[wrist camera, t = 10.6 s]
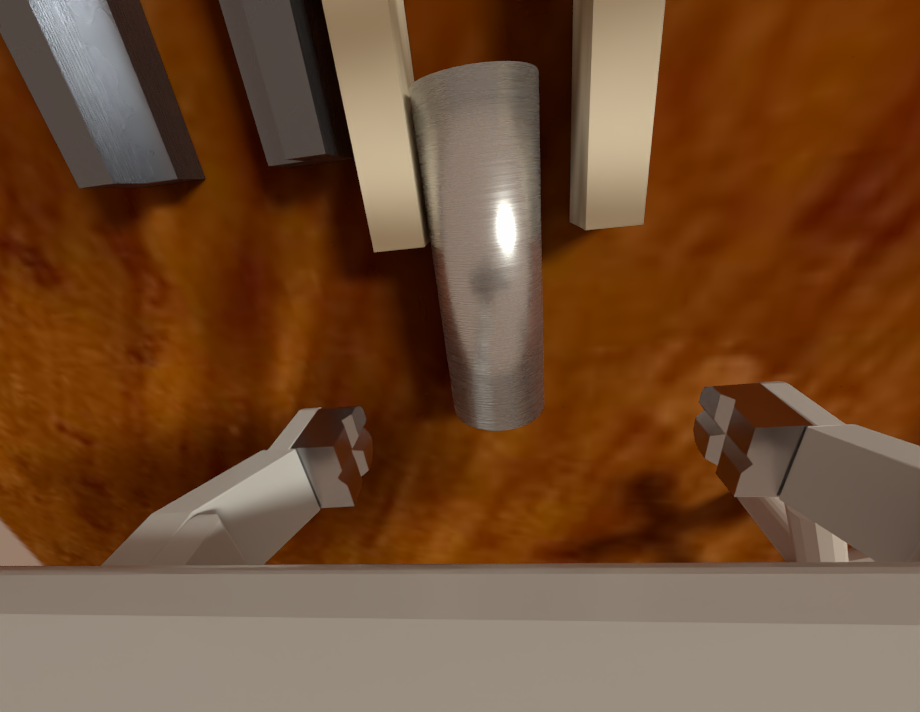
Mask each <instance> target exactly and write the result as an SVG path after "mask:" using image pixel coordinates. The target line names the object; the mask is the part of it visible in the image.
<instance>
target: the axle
mask: <svg viewBox="0 0 920 712" xmlns="http://www.w3.org/2000/svg"><path fill="white" fill-rule="evenodd" d="M409 94H410V101H411V108H412V115H413V122H414V129H415V136H416V143H417V150H418V157H419V164H420V171H421V178H422V185H423V192H424V199H425V206H426V213H427V220H428V227H429V234H430V241H431V248H432V255H433V262H434V269H435V276H436V283H437V290H438V297H439V304H440V311H441V318H442V325H443V332H444V339H445V346H446V353H447V360H448V367H449V374H450V381H451V388H452V395H453V402H454V409H455V413H456V415H457V417H458V418H459V419H460V420H461V421H463V422H464V423H466V424H467V425H469V426H472V427H475V428H478V429H483V430H491V431H501V430H510V429H514V428H518V427H521V426H524V425H526V424H528V423H530V422H532V421H533V420H535V419H536V418H537V417H538V416H539V415H540V414H541V412H542V411H543V408H544V366H543V306H542V247H541V187H540V128H539V70H538V68H537V67H536V66H535V65H533V64H530V63H526V62H518V61H493V62H482V63H474V64H468V65H463V66H458V67H453V68H449V69H445V70H442V71H438V72H435V73H432V74H430V75H427V76H425V77H423V78H421V79H419V80H417V81H415V82H414V83H413V84H412V85H411V86H410V87H409Z"/></svg>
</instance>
